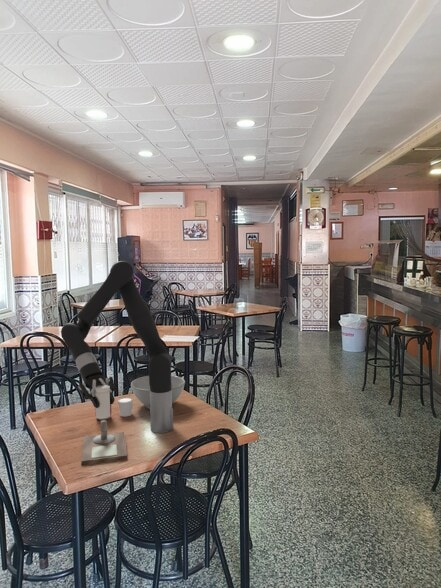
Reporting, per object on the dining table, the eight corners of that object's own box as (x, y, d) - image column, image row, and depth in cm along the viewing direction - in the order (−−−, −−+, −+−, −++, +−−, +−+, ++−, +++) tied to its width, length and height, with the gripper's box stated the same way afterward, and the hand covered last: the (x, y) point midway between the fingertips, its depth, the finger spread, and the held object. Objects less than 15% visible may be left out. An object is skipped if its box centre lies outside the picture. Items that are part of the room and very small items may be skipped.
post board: (124, 435, 177) (123, 414, 177) (127, 459, 156) (126, 435, 156) (83, 440, 173) (83, 418, 172) (81, 465, 152) (80, 440, 151)
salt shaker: (110, 413, 161) (109, 384, 160) (110, 418, 156) (109, 388, 155) (95, 414, 160) (95, 385, 159) (95, 419, 155) (95, 390, 154)
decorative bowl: (169, 393, 232) (169, 372, 231) (195, 407, 210) (194, 383, 209) (123, 403, 217) (122, 380, 216) (144, 419, 195) (144, 393, 194)
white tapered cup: (120, 418, 197) (119, 403, 196) (116, 413, 203) (116, 399, 202) (134, 415, 200) (134, 400, 199) (130, 410, 206) (130, 396, 205)
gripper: (73, 365, 157) (91, 404, 149) (108, 358, 167) (126, 395, 160) (67, 376, 161) (84, 415, 153) (101, 369, 171) (118, 405, 164)
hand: (105, 404), depth 157 cm, fingers closed on salt shaker, 5 cm apart
